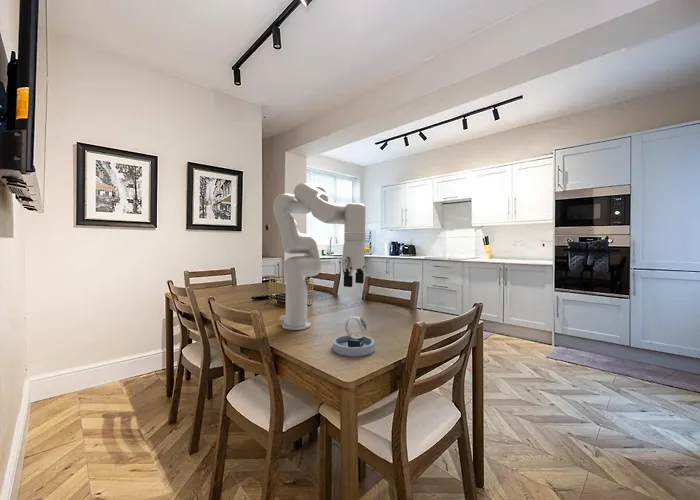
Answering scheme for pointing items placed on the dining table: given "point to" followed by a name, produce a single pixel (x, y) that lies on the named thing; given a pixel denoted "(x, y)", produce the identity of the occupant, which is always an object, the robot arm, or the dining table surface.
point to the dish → (342, 347)
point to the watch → (356, 340)
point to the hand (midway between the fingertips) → (353, 284)
